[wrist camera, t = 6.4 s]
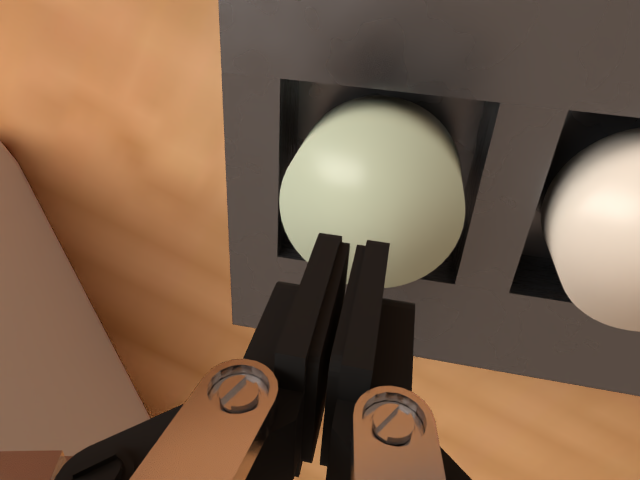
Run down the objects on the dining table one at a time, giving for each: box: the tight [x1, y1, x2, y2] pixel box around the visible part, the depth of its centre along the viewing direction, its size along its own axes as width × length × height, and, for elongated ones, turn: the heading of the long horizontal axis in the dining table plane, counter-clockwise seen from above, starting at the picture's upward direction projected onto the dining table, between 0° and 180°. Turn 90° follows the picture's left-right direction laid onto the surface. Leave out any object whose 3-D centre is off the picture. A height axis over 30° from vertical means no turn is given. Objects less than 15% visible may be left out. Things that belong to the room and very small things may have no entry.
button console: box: [219, 0, 640, 396], centre depth 18 cm, size 15×29×4 cm, turn 87°
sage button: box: [279, 95, 465, 288], centre depth 17 cm, size 6×6×3 cm
